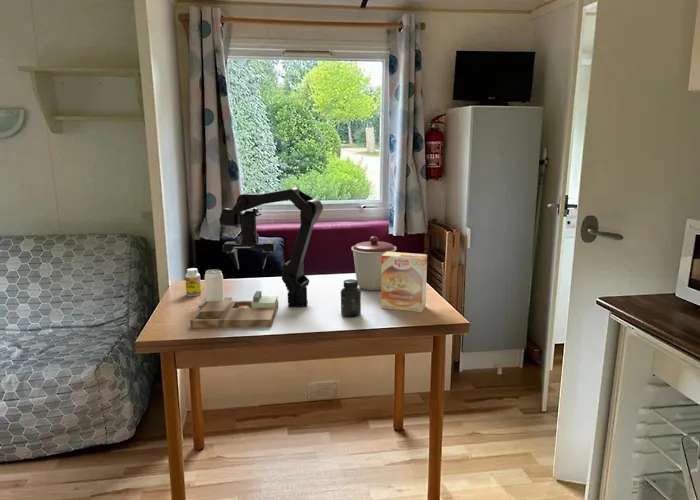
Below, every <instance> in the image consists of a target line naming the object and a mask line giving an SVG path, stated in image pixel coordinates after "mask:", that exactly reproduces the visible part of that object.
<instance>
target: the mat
mask: <svg viewBox="0 0 700 500" xmlns="http://www.w3.org/2000/svg"><path fill="white" fill-rule="evenodd" d="M230 300H231V301H232V300H233V299H232V297H224V301H230ZM205 302H206V297H204V299H203V300H202V302H200V304H199V305H198V308H201V307H202V305H203V304H204V303H205Z"/></svg>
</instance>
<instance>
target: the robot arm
mask: <svg viewBox="0 0 700 500" xmlns="http://www.w3.org/2000/svg"><path fill="white" fill-rule="evenodd" d="M284 201H290V202H291V203H292V204H293V206H295V208H297V209H298V210H299V211H300V214H299V218H300V225H299V228H298V230H299V231H298V233H297V237H296V241H295V244H294V246H293V247H294V248H293V250H292V251H293V252H292V255H291V258H290V260H288V261H287V262H285V263H283V265H282V270H281V272H280V275H281V281H283V283H284V284H285V287H286V290H287V304H288V307H293V308H294V307H295V308H296V307H297V308H299V307H308V304H309V303H308V301H309V300H308V286H309V284H310V279H309V278H308V277H307V276H306V275H305V274H304V272H305V267H304V259H305V258H306V257H305V256H306V253H307V249H308V245H309V242H310V240H311V236H312V233H313V229H314V225H315V224H317V222H318V220H319V218H320V216H321V214H322V212H323V210H324V206H323V203H322V202H321V201H320V200H319V199H315V198H313V197H312V196H310V195H309V194H307V193H305V192H303V191H302V190H301V189H299V188H298V187H292V188H288V189H283V190H276V191H271V192H266V193H262V192H261V193H260V192H247V193H243V194H240V195H238V196H237V199H236V203H235V204H234V206H233V207H232V208H229V207H225V208H222V209H221V213H220V215H219V224H220V226H222V227H223V228H224V227H225V228H226V227H227V228H238V227H239V226H240V232H239V240H240V242H241V243H237V242H236V241H226V242H224V244H223V245H222V252H223V253H226V255H229V256H230V258H231V260H232V262H233V263H234V265H235V267H236V270H239V269H240V264H239V259H238V250H255V249H256V250H257V249H258V250H262V254H261V269H262V270H264V268H265V265H266V261H267V257H268V255H270V254H271V253H272V252H274V251H275V250H276V247H277V246H276V242H275V241H274V240H267V241H266V240H265V241H264V242H263V243H260V242H259V238H260V236H259V233H257V232H258V230H257V217H259V216H261V215H262V212H260V211H259V210H258V209H257V207H260V206H262V205H265V204H273V203H277V202H278V203H279V202H284ZM252 209H253V210H252Z"/></svg>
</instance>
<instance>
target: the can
mask: <svg viewBox="0 0 700 500" xmlns="http://www.w3.org/2000/svg"><path fill="white" fill-rule="evenodd" d="M223 274H224V273H222V270H221V269H217V268H215V269H208V270H205V274H204V289H205V290H204V292H205V298H206V301H224V298H225V291H224V290H225V289H224V275H223Z"/></svg>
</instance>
